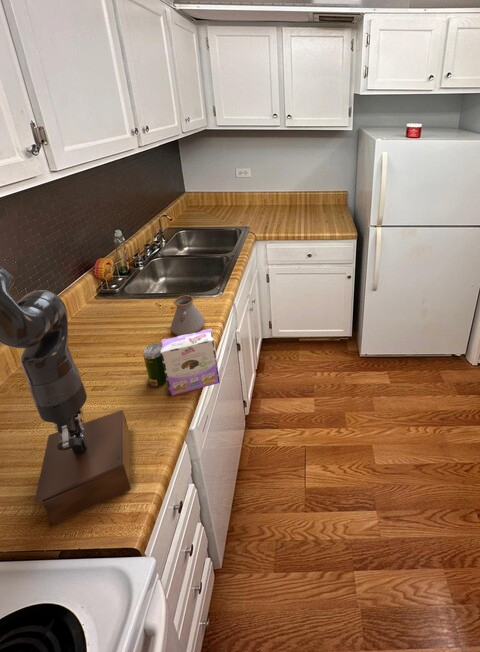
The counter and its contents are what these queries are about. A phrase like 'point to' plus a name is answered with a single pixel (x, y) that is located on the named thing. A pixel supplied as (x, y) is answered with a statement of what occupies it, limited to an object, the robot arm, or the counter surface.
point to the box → (91, 489)
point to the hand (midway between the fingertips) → (81, 449)
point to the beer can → (154, 365)
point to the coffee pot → (186, 317)
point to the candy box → (190, 361)
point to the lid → (83, 457)
